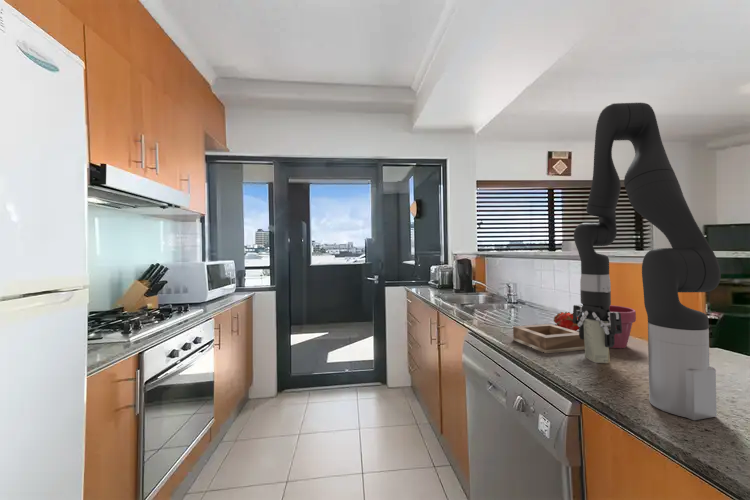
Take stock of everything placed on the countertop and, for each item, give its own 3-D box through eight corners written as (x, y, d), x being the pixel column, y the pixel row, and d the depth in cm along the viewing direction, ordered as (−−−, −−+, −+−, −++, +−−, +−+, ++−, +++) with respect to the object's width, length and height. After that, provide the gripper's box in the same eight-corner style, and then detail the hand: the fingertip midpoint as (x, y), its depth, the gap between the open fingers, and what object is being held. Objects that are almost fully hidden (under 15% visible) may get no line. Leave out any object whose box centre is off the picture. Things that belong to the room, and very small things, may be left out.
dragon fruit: (550, 333, 133) (584, 340, 128) (553, 324, 127) (589, 332, 121) (552, 314, 137) (585, 321, 132) (555, 305, 131) (590, 312, 126)
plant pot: (645, 352, 102) (644, 312, 102) (593, 349, 106) (593, 310, 106) (625, 340, 115) (624, 305, 115) (580, 337, 120) (580, 303, 120)
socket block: (586, 349, 106) (586, 334, 106) (545, 353, 102) (545, 337, 102) (550, 336, 122) (549, 323, 122) (513, 340, 118) (513, 326, 118)
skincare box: (610, 363, 92) (609, 321, 92) (593, 363, 93) (592, 321, 93) (599, 356, 98) (598, 317, 99) (583, 356, 99) (582, 316, 99)
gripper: (565, 287, 102) (566, 337, 102) (607, 292, 88) (608, 351, 88) (585, 286, 104) (585, 335, 104) (628, 291, 90) (629, 349, 90)
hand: (596, 342), depth 96 cm, fingers open, 8 cm apart
